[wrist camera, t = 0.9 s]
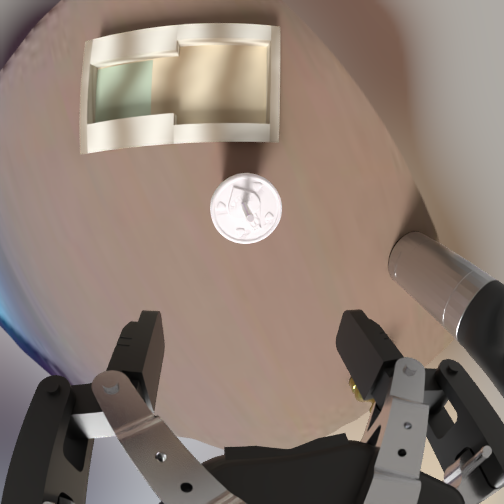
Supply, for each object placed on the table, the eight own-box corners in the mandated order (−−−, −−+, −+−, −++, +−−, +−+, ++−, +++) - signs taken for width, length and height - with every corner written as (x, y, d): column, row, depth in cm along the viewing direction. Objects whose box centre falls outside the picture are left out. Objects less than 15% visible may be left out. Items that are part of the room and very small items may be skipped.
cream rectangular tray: (273, 37, 26) (280, 26, 23) (271, 142, 31) (278, 142, 28) (96, 49, 23) (85, 41, 20) (92, 152, 28) (80, 154, 25)
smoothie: (248, 155, 32) (273, 165, 19) (272, 201, 34) (309, 239, 21) (200, 181, 32) (193, 209, 19) (227, 225, 35) (236, 279, 22)
